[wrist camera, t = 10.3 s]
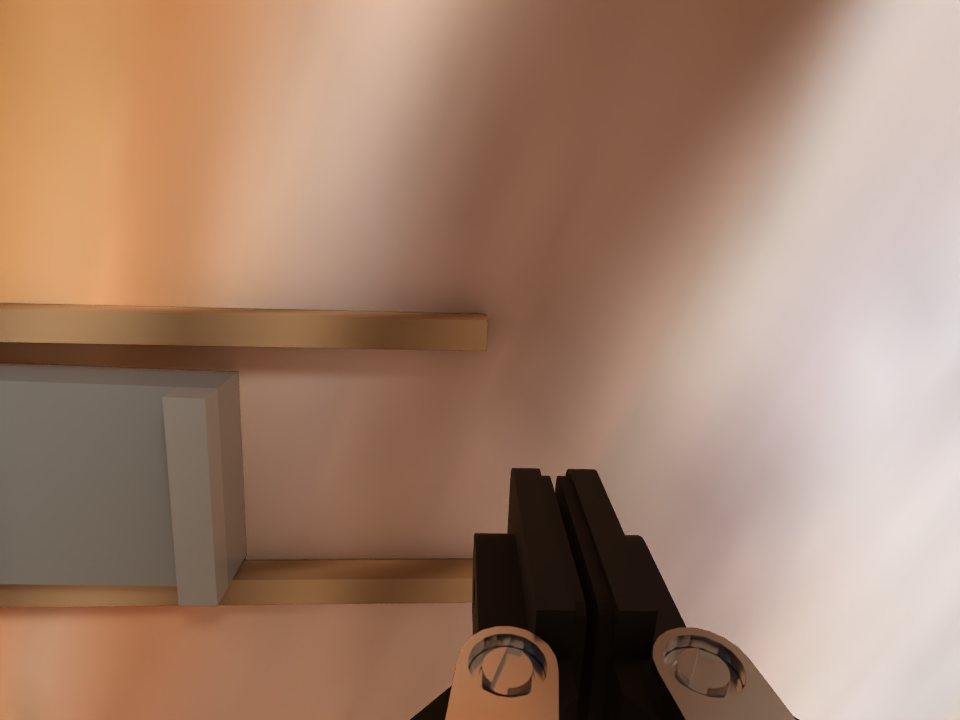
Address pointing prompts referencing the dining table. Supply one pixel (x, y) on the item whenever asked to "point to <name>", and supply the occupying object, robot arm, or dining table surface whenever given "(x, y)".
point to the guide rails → (258, 329)
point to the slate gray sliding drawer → (121, 478)
